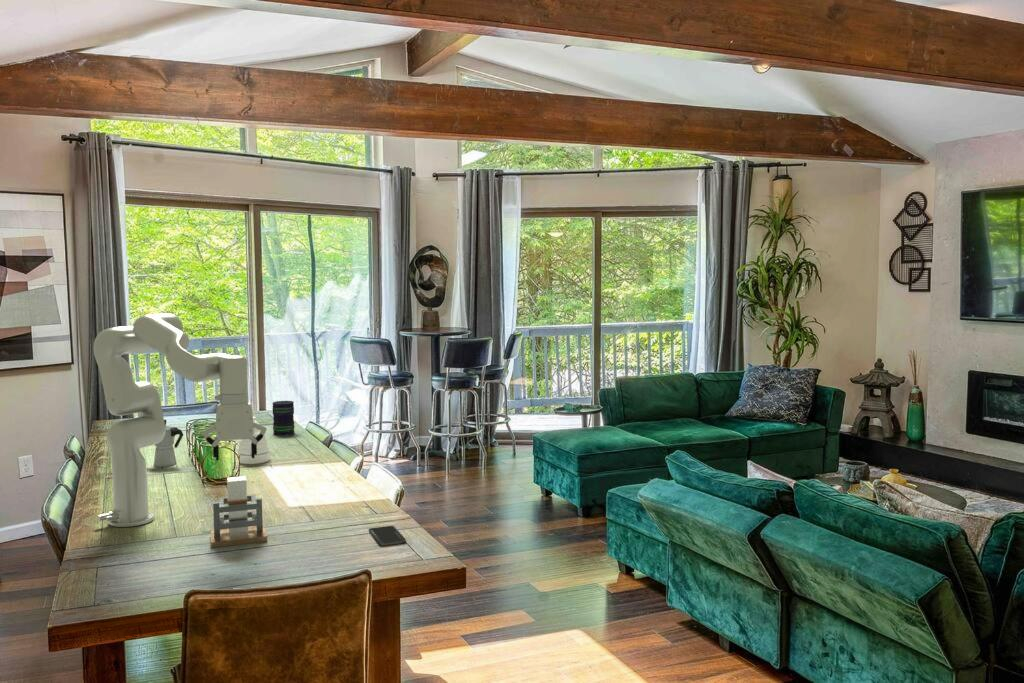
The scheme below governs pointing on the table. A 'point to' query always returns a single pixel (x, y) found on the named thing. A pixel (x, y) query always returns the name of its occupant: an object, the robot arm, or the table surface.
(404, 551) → the table surface
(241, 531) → the white block
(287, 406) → the storage jar
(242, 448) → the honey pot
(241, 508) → the collar rack
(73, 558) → the table surface
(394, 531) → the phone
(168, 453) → the coffee maker
